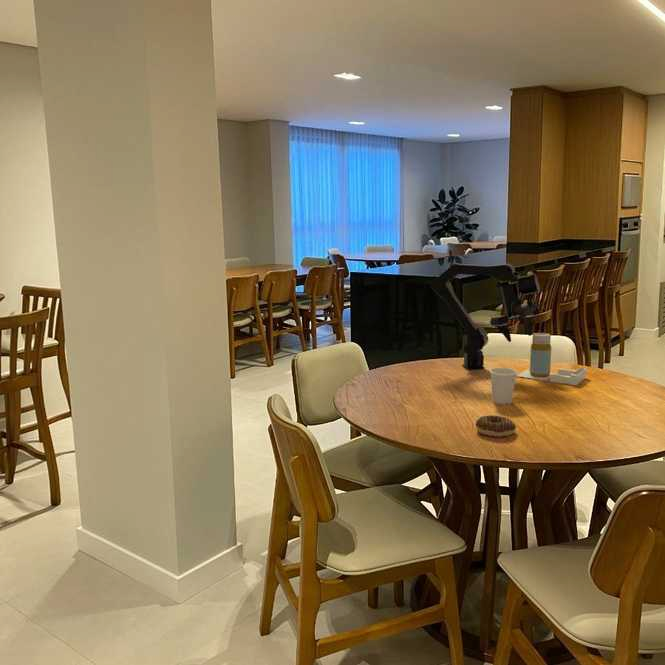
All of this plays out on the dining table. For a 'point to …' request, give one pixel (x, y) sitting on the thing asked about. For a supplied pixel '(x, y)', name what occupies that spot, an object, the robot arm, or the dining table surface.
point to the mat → (527, 375)
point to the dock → (569, 376)
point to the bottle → (540, 355)
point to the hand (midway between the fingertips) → (520, 338)
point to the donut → (495, 426)
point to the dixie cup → (503, 384)
